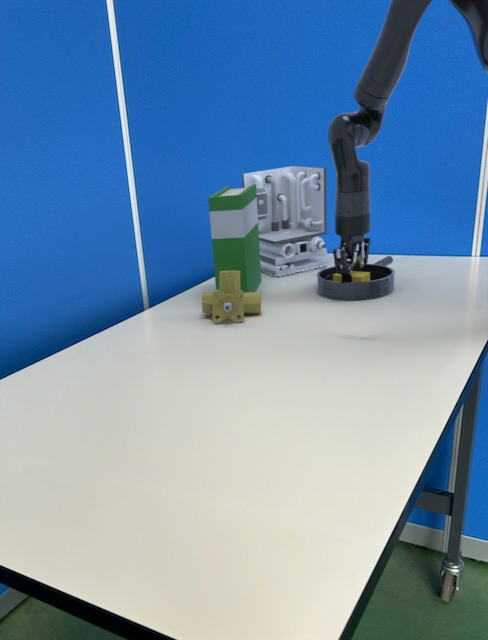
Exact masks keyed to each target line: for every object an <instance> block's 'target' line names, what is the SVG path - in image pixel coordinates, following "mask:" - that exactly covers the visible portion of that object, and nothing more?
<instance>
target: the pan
mask: <svg viewBox="0 0 488 640" xmlns="http://www.w3.org/2000/svg"><path fill="white" fill-rule="evenodd" d="M340 268H341V265H340ZM348 268H349V264H348ZM353 269H354V268H353ZM362 272H370V281H367V282H335V281H333V275H334V274H336V268H335V265H334V266H333V265H332V266H329V267H325V268H324V269H323V268H322V269H321V270H320V271H318V272H317V274H316V292H317V291H318V292H317V294H318V293H319V294H320V295H319V294H318V295H319V296H321V297H323V298H326V297H327V298H326V299H329V298H331V299H330V300H333V301H334V300H335V299H337V300H335V301H346V302H350V301H353V302H355V301H368V300H375V299H379V298H383V297H386V296H388V295H390V294H392V293H393V292H394V291H395V285H396V284H395V283H396V280H395V279H396V271H395V270H394V269H393V267H390V266H388V265H387V266H383V265H378V264H374V263H367V264H364V268H363V269H362ZM392 291H393V292H392ZM385 295H386V296H385ZM367 299H368V300H367Z"/></svg>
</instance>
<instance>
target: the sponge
mask: <svg viewBox="0 0 488 640" xmlns="http://www.w3.org/2000/svg"><path fill="white" fill-rule="evenodd" d="M333 281H335V282H342V275H341V274H337V273H336V274H334V275H333ZM367 281H370V272H360V271H352V282H367Z"/></svg>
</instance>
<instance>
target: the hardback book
mask: <svg viewBox="0 0 488 640" xmlns="http://www.w3.org/2000/svg"><path fill="white" fill-rule="evenodd" d="M230 186H231V185H226V186H224V187H223V188H221V189H220V190H218V191H215V193H213V194H212V195H210V196H208V197H207V199H208V212H209V222H210V234H211V244H212V245H211V246H212V247H211V248H212V259H213V269H214V270H213V271H214V281H215V289H218V290H219V272H220V271H233V270H235V271H240V290H242V291H243V292H244V293H245V292H256V291H257V290H258V288H259V287H260V285H261V283H262V272H261V267H260V248H259V230H258V211H257V193H256V184H252V185H251V186H249V187H248V188H243V187H242V188H241V187H240V188H231V187H230ZM260 282H261V283H260ZM259 284H260V285H259ZM257 287H258V288H257ZM256 289H257V290H256ZM255 290H256V291H255Z"/></svg>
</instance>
